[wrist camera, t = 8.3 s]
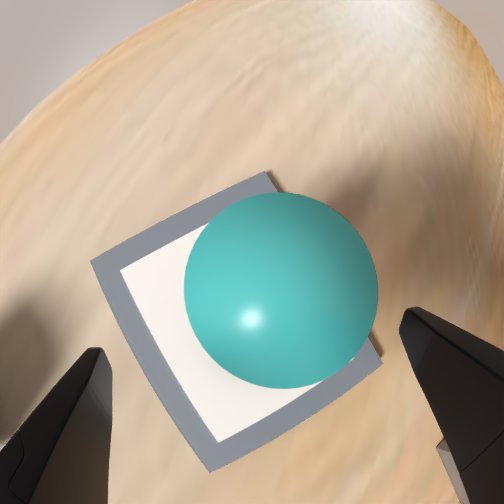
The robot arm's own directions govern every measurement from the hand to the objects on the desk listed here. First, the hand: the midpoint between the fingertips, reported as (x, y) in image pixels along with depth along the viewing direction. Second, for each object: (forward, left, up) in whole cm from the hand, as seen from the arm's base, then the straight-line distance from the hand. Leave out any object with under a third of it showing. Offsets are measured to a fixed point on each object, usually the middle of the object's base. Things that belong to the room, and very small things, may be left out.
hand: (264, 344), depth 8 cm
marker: (+1, -1, -8) cm, 9 cm away
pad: (+1, -1, -9) cm, 10 cm away
